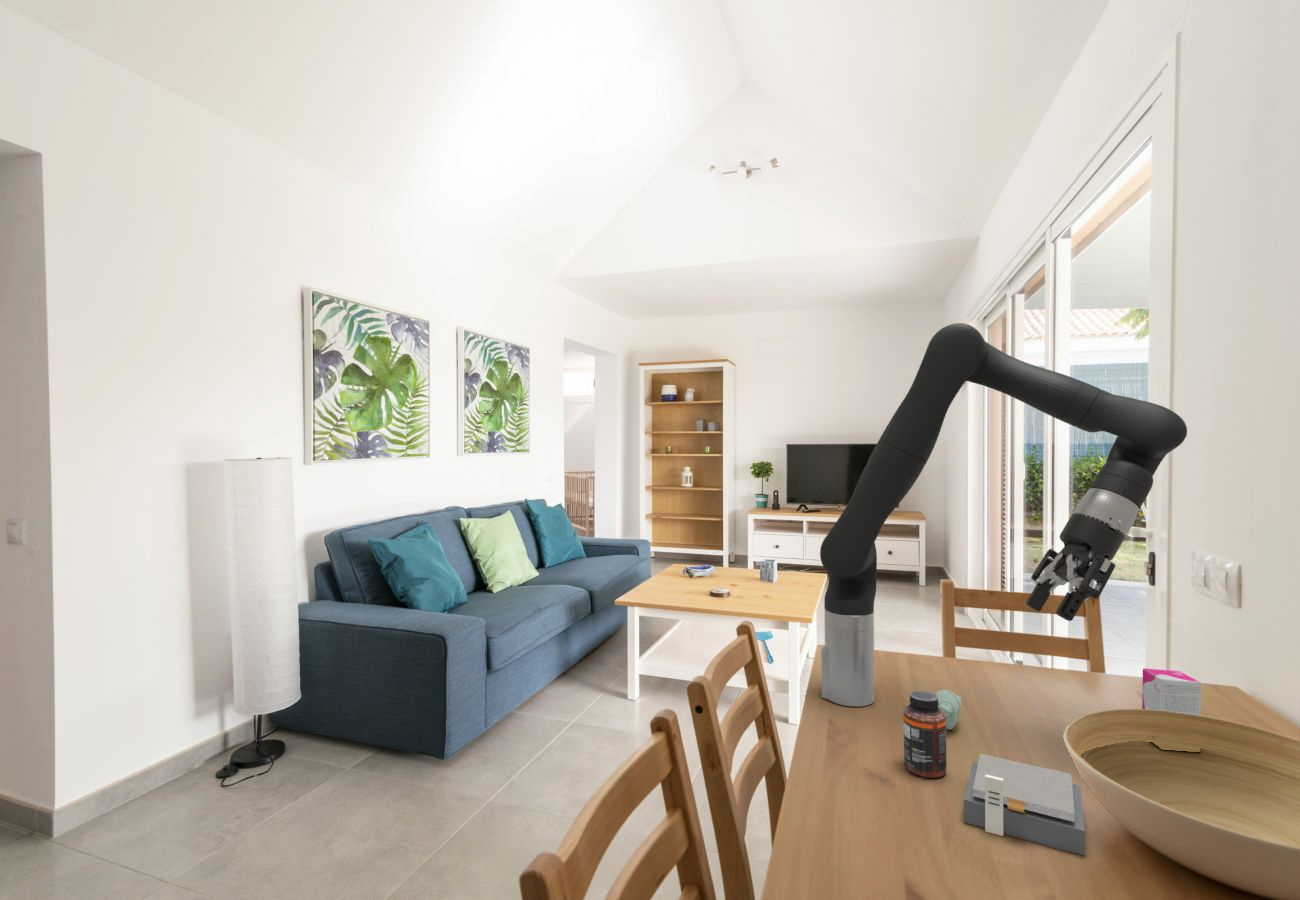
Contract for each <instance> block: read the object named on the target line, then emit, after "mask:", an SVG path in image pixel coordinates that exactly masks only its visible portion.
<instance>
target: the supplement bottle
mask: <svg viewBox="0 0 1300 900" xmlns="http://www.w3.org/2000/svg"><path fill="white" fill-rule="evenodd" d="M935 694H936V693H933V692H930V691H926V690H914V691H912V692H910V694H909V702H910V703H909V704H908V705H907V706H905V707H904V708H903V761H904V763H903V764H904V767H905V768H906V769H907V770H908V772H910V773H912V774H914V775H916V776H919V777H923V778H928V779H929V778H930V779H934V778H935V779H936V778H940V777H942V776H944V775H945V774H946V773H947V729H946V718H945V715H944V713H943V711H942V710H940V709H939V708H938V706H939V704H938V697H937V696H936V695H935Z"/></svg>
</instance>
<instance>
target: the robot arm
mask: <svg viewBox="0 0 1300 900" xmlns="http://www.w3.org/2000/svg"><path fill="white" fill-rule="evenodd" d="M965 382H970V383H974V384H976V385H980V386H983V387H986V388H990V389H992V390H995V391H997V392H1000V393H1003V394H1005V395H1008V396H1009V397H1011V398H1014V399H1016V400H1018V401H1020V402H1022V403H1024V404H1026V405H1027V406H1030V407H1032V408H1034V409H1036V410H1037V411H1040V412H1042V413H1044V414H1045V415H1048V416H1050V417H1051V418H1055V419H1057V420H1058V421H1060V422H1063V423H1065V424H1068V425H1070V426H1073V427H1074V428H1075V427H1076V428H1077V429H1079V430H1081V431H1084V432H1088V433H1092V434H1093V433H1099V432H1104V433H1108V434H1111V435H1114V436H1117V437H1116V438H1115V440H1114V443H1113V444H1112V446H1111V448H1110V450H1109V453H1108V455H1107V458H1106V461H1105V464H1104V465H1103V466H1102V467H1101V468H1100V470H1099V471H1098V473H1097V474H1096V476H1095V478H1094V480H1093V482H1092V484H1091V485H1090V487H1089V489H1088V490H1087V492H1086V493H1085V494H1084V495H1083V496H1082V498H1081V499H1080V500H1079V502H1078V503H1077V505H1076V506H1075V508H1074V510H1073V512H1072V513H1071V515H1070V517H1069V519H1068V521H1067V522H1066V524H1065V526H1064V527H1063V529H1062V531H1060V534H1059V539H1060V541H1061V542H1062V543H1063V544H1064V546H1063V548H1062V549H1061V550H1060V551H1059V552H1057V551H1055V550H1054V549H1053V548H1050V549H1048V550H1047V551H1046V552H1045V554H1044V555H1043V558H1042V559H1041V560H1040V562H1039V563H1038V566H1037V567H1036V569H1034V572H1033V573H1032V575H1031V577H1030V579H1031V580H1033V581H1034V584H1035V587H1034V588H1033V590H1032V592H1031V593H1030V595H1029V597H1028V598H1027V600H1026V602H1025V604H1026V606H1027V607H1028V608H1030V609H1032V610H1033V611H1036V612H1040V611H1041V610H1043V607H1044V606H1045V604H1046V603H1047V600H1048V599H1049V597H1050V595H1051V594H1052V593H1051V592H1053V590H1055V589H1056V588H1057V587H1059V586H1065V585H1066V584H1067V583H1069V587H1068V588H1069V590H1068V592H1067V593H1066V594H1065V596H1064V597H1063V599H1062V601H1061V602H1060V603H1059V605H1058V607H1057V609H1056V611H1055V613H1056V615H1057V616H1058V617H1060V618H1062V619H1064V620H1065V621H1069V622H1070V621H1073V620H1074V618H1075V616H1076V614H1077V613H1078V611H1079V610H1080V608H1081V606H1082V604H1083V603H1084V601H1088V600H1089V599H1090V598H1092V599H1095V600H1096V599H1099V598H1100V596H1101V594H1102V592H1103V590H1104V589H1105V586H1106V585H1107V583H1108V581H1109V579H1110V578H1111V575H1112V573H1113V572H1114V571H1115V568H1116V564H1115V562H1112V560H1113V559H1114V558H1115V556H1116V554H1117V552H1118V551H1119V549H1120V547H1121V545H1122V544H1123V542H1124V540H1125V539H1126V537H1127V536H1128V533H1129V532H1130V530H1131V528H1132V527H1133V525H1134V523H1135V521H1136V518H1137V515H1138V513H1139V511H1140V509H1141V507H1142V506H1143V504H1144V502H1145V501H1146V499H1147V497H1148V495H1149V493H1150V491H1151V489H1152V487H1153V485H1154V478H1153V477H1154V475H1155V473H1156V472H1157V470H1158V468H1159V466H1160V465H1161V464H1162V461H1163V460H1164V458H1165V457H1166V456H1167V455H1168V454H1169V453H1170V452H1173V450H1175V449H1177V448H1178V447H1179V446H1180V445H1182V444H1183V442H1184V441H1185V440H1186V437H1187V435H1188V434H1187V433H1188V428H1187V424H1186V422H1185V420H1184V419H1183V418H1182V417H1181V415H1179V414H1177V413H1176V412H1175V411H1173V410H1171V409H1170V408H1168V407H1166V406H1163V405H1160V404H1157V403H1153V402H1150V401H1147V400H1146V401H1145V400H1142V399H1137V398H1132V397H1130V396H1129V397H1128V396H1123V395H1119V394H1118V395H1117V394H1113V393H1112V392H1111V393H1110V392H1108V391H1106V390H1104V389H1101V388H1099V387H1097V386H1094V385H1091V384H1090V383H1087V382H1085V381H1082V380H1080V379H1077V378H1075V377H1073V376H1069V375H1066V374H1063V373H1060V372H1058V371H1053V370H1051V369H1047V368H1045V367H1044V368H1043V367H1041V366H1037V365H1034V364H1032V363H1028V362H1026V361H1023V360H1020V359H1018V358H1016V357H1014V356H1012V355H1009V354H1007V353H1005V352H1004V351H1002V350H1001V349H998V348H997V347H995V346H994V345H991V344H990V343H988V342H987V341H986V340H985V339H984V337H983V335H982V334H981V333H980V332H979V330H978V329H977V328H975V327H974V326H972V325H970V324H969V323H968V324H967V323H963V322H957V323H952V324H948V325H945V326H944V327H942V328H941V329H939V330H938V331H936V333H935V334H933V336H932V337H931V339H930V341H929V342H928V345H927V348H926V350H925V352H924V355H923V358H922V360H921V362H920V365H919V368H918V370H917V373H916V375H915V377H914V380H913V381H912V383H911V385H910V388H909V390H908V392H907V393H906V395H905V396H904V398H903V400H902V401H901V403H900V404H899V406H898V408H897V409H896V410H895V412H894V414H893V416H892V417H891V419H890V420H889V422H888V424H887V425H886V428H885V429H884V430H883V432H882V434H881V436H880V437H879V439H878V441H877V443H876V445H875V447H874V449H873V451H872V452H871V453H870V457H869V458H868V461H867V463H866V465H865V467H864V469H863V471H862V473H861V475H860V477H859V480H858V481H857V483H856V486H855V488H854V491H853V493H852V496H851V498H850V499H849V501H848V503H847V505H846V507H845V508H844V510H843V511H842V513H841V514H840V516H839V517H838V518H837V520H836V522H835V523H834V525H833V526H832V528H831V529H830V530H829V531H828V533H827V535H826V536H824V537H825V538H823V540H822V542H821V545H820V551H819V558H820V561H821V564H822V566H823V568H824V569H825V571H826V572H827V573H828V574H829V575H828V577H829V578H828V584H827V588H826V591H825V593H824V601H823V602H824V605H823V607H824V647H822V648H821V652H820V653H821V657H820V658H821V668H820V669H821V673H820V674H821V698H822V699H826V700H828V701H830V702H831V703H834V704H837V705H842V706H846V707H856V708H857V707H867V706H870V705H871V704H873V703H874V702H875V636H874V635H875V633H874V631H875V625H874V624H875V623H874V622H875V615H874V613H875V608H874V607H875V606H874V605H875V599H876V593H877V576H878V575H877V573H878V572H877V569H878V568H877V567H878V561H877V560H878V557H877V556H878V554H877V548H876V547H877V546H876V543H875V542H876V540H877V538H878V535H879V534H880V532H881V529H882V527H883V525H884V524H885V522H886V521H887V519H888V517H889V516H891V514H892V512H894V510H895V509H896V508H897V506H898V505H899V504H900V503H901V502H902V501H903V500H904V498H905V497H906V496H907V494H908V493H909V492H910V490H911V489H912V487H913V486H914V484H915V483H916V482H917V480H918V478H919V477H920V475H921V473H922V472H923V470H924V468H925V466H926V465H927V462H928V460H929V459H930V457H931V455H932V452H933V451H934V449H935V446H936V444H937V441H938V438H939V436H940V432H941V431H942V430H941V429H942V427H943V423H944V421H945V418H946V415H947V413H948V410H949V408H950V407H951V404H952V402H953V401H954V400H955V398H956V396H957V394H958V393H959V392H960V390H961V389H962V387H963V386H964V384H965ZM1095 582H1096V584H1095Z"/></svg>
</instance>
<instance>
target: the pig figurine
mask: <svg viewBox="0 0 1300 900" xmlns="http://www.w3.org/2000/svg"><path fill="white" fill-rule="evenodd" d="M934 694H935V695H936V696H937V697H938V704H939V706H938V708H939V709H940V710H942V711H943V713H944V715H945V718H946V730H951V729H952V730H953V728H954V727H955V726H956V725H957V723H958V721H959V719H960V713H961V711H960V710H961V704H962V696H960V695H957V694H955V693H954V692H952V691H951V690H950V689H946V688H943V689H939V690H938V691H937V692H936V693H934Z"/></svg>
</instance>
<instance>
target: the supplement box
mask: <svg viewBox="0 0 1300 900" xmlns="http://www.w3.org/2000/svg"><path fill="white" fill-rule="evenodd" d="M1141 701H1142V704H1141V705H1142V707H1141V710H1142V709H1145V710H1160V711H1170V712H1176V713H1184V714H1191V715H1198V716H1202V715H1201V713H1202V712H1201V711H1202V682H1200V681H1199V680H1197V679H1195V678H1193V677H1191V676H1189V675H1188V674H1186V673H1184V672H1182V671H1180V670H1169V669H1157V668H1156V669H1155V668H1147V667H1146V668H1144V667H1143V668H1142V699H1141Z"/></svg>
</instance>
